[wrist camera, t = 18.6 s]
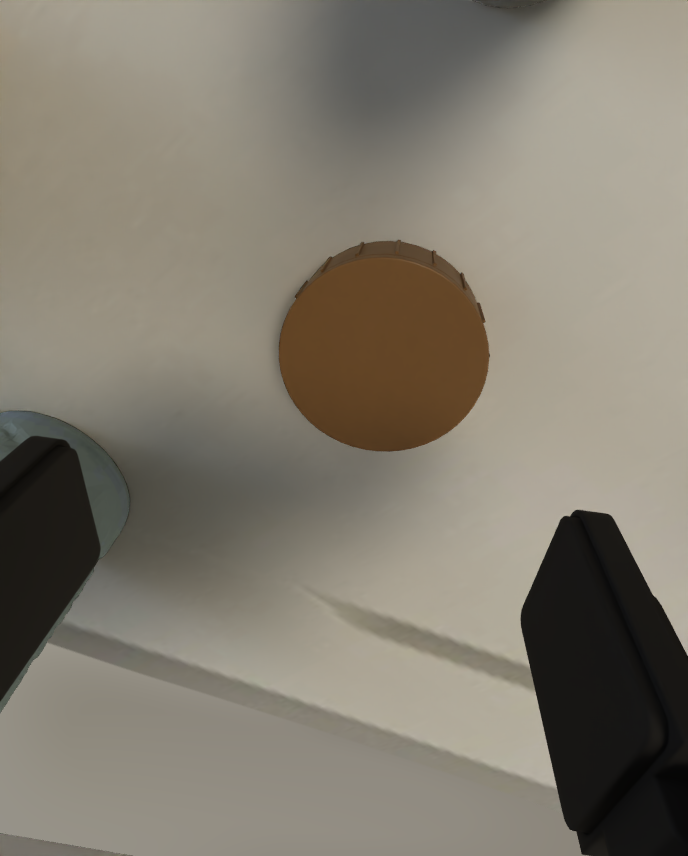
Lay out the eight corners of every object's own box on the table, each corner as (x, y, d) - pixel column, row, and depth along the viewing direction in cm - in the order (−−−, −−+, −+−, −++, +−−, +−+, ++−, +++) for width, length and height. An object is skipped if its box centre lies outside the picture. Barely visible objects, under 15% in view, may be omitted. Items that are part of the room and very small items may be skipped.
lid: (468, 214, 16) (474, 228, 14) (493, 405, 20) (501, 438, 18) (267, 265, 18) (247, 284, 16) (322, 431, 22) (312, 465, 20)
